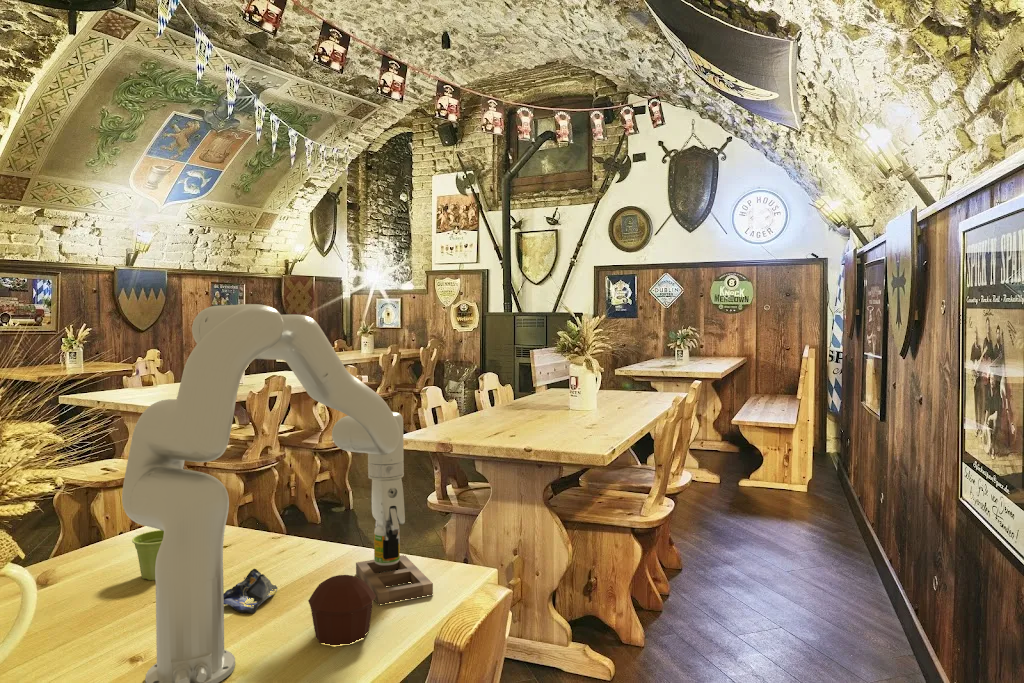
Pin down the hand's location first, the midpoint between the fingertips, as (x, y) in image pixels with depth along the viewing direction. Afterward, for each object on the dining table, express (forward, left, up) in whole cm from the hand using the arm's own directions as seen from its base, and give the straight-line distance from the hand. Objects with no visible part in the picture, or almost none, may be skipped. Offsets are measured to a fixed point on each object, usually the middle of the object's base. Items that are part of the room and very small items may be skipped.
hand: (386, 552), depth 146 cm
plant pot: (+23, +45, -6) cm, 51 cm away
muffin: (-24, +15, -6) cm, 28 cm away
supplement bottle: (0, 0, -2) cm, 2 cm away
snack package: (-1, +27, -6) cm, 28 cm away
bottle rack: (-5, 0, -5) cm, 7 cm away
